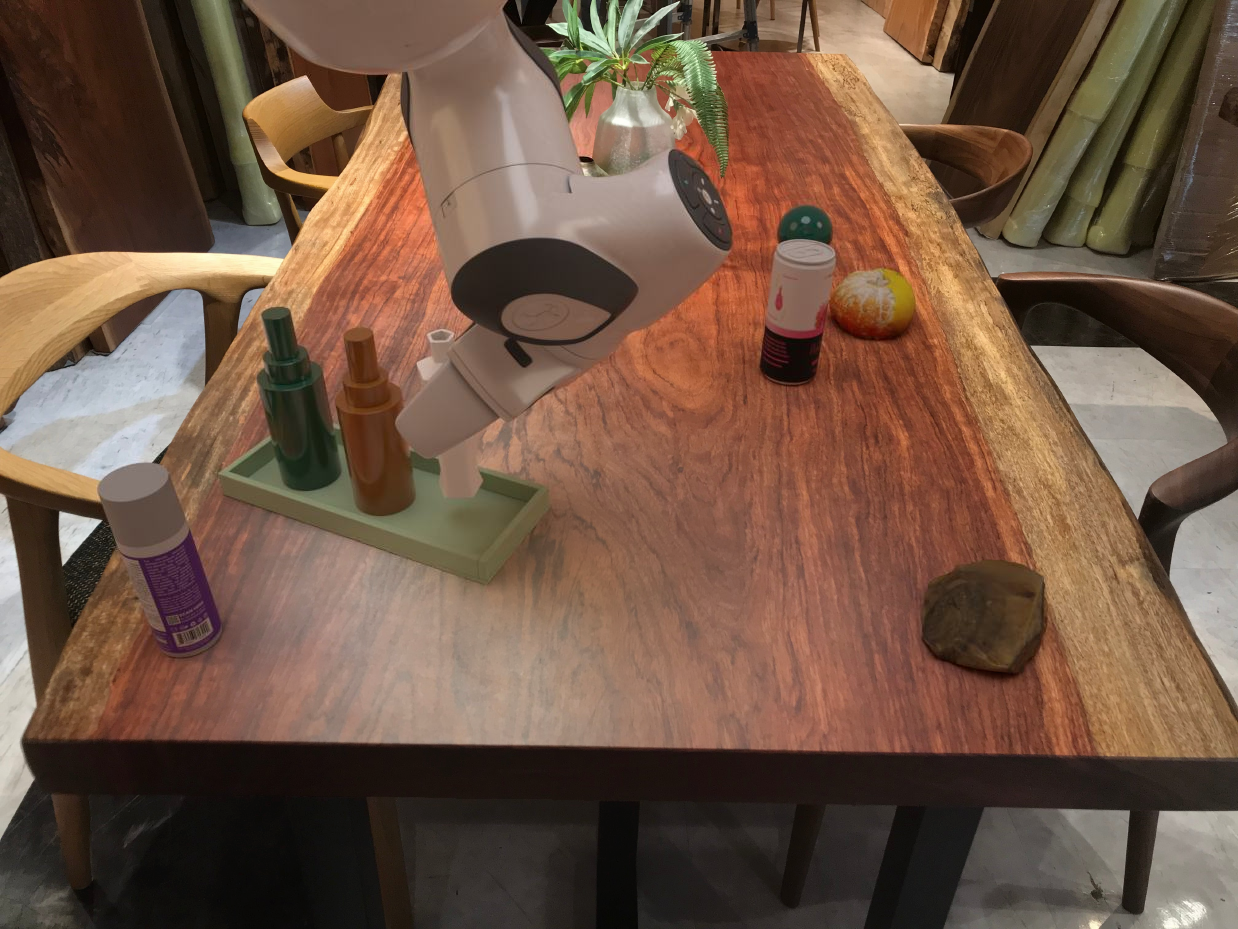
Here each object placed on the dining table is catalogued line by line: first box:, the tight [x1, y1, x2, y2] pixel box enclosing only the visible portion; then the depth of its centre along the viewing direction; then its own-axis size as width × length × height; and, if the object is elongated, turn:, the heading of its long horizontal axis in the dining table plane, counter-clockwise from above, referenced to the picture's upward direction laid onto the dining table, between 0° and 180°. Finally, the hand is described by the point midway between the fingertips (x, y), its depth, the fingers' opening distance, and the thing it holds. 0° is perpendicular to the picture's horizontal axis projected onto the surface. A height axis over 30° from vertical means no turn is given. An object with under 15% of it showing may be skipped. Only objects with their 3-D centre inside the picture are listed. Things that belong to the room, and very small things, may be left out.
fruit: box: [828, 267, 917, 341], centre depth 113 cm, size 11×10×8 cm
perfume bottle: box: [415, 328, 483, 498], centre depth 74 cm, size 5×4×15 cm
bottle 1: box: [256, 306, 342, 491], centre depth 81 cm, size 6×6×17 cm
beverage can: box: [759, 239, 837, 386], centre depth 100 cm, size 6×7×15 cm
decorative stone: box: [920, 559, 1049, 674], centre depth 71 cm, size 10×9×4 cm
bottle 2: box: [334, 326, 416, 516], centre depth 78 cm, size 6×6×17 cm
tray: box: [217, 422, 551, 586], centre depth 83 cm, size 28×11×2 cm, turn 66°
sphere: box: [776, 203, 834, 247], centre depth 129 cm, size 8×8×8 cm
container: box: [96, 462, 223, 659], centre depth 65 cm, size 5×5×15 cm
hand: (445, 407), depth 73 cm, fingers closed on perfume bottle, 4 cm apart
